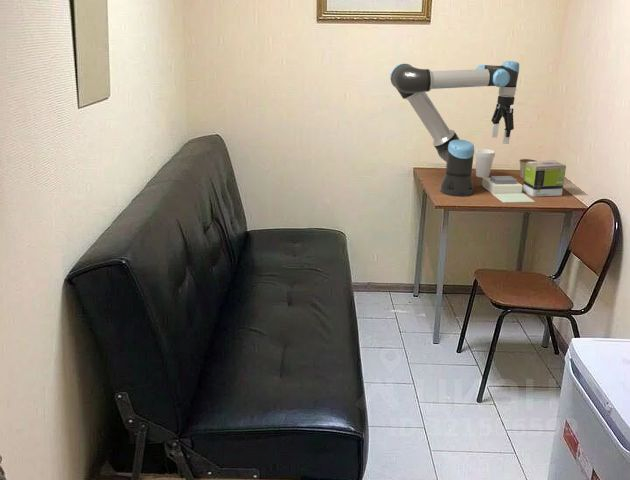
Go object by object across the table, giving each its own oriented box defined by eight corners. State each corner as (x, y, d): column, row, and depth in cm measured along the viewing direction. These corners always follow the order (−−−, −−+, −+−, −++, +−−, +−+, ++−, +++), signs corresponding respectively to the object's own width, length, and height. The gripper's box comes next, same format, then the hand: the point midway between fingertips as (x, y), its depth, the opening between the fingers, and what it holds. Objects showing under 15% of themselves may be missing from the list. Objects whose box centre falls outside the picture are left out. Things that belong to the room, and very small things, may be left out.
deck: (493, 194, 295) (494, 186, 294) (481, 185, 308) (482, 177, 307) (521, 193, 297) (522, 185, 296) (509, 185, 310) (510, 177, 309)
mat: (503, 202, 283) (503, 202, 283) (492, 194, 295) (492, 193, 295) (535, 202, 285) (535, 201, 285) (523, 194, 297) (523, 193, 297)
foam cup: (472, 173, 330) (475, 148, 325) (490, 174, 329) (493, 149, 324) (474, 178, 321) (477, 152, 316) (492, 179, 320) (496, 153, 315)
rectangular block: (496, 184, 296) (496, 180, 296) (490, 180, 303) (490, 176, 302) (516, 184, 298) (517, 180, 297) (510, 179, 304) (510, 175, 304)
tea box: (551, 190, 304) (556, 159, 299) (562, 196, 295) (567, 165, 290) (521, 190, 302) (526, 160, 297) (532, 197, 293) (536, 166, 287)
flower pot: (534, 175, 328) (536, 159, 325) (537, 180, 319) (540, 164, 316) (515, 174, 329) (518, 158, 326) (518, 179, 320) (520, 162, 317)
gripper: (525, 100, 286) (518, 146, 293) (503, 91, 309) (496, 135, 316) (510, 99, 285) (503, 146, 292) (488, 91, 308) (482, 134, 315)
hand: (499, 140), depth 304 cm, fingers open, 13 cm apart
